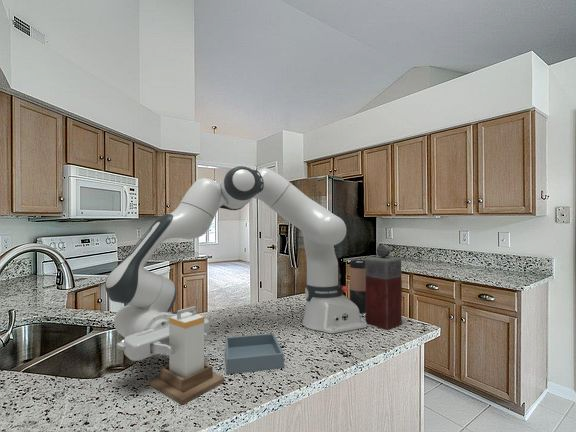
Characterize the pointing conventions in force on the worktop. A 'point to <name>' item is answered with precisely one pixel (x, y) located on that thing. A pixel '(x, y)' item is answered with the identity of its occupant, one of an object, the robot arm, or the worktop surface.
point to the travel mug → (358, 284)
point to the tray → (253, 353)
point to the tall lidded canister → (186, 342)
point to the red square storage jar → (383, 290)
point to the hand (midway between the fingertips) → (189, 344)
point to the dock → (186, 383)
